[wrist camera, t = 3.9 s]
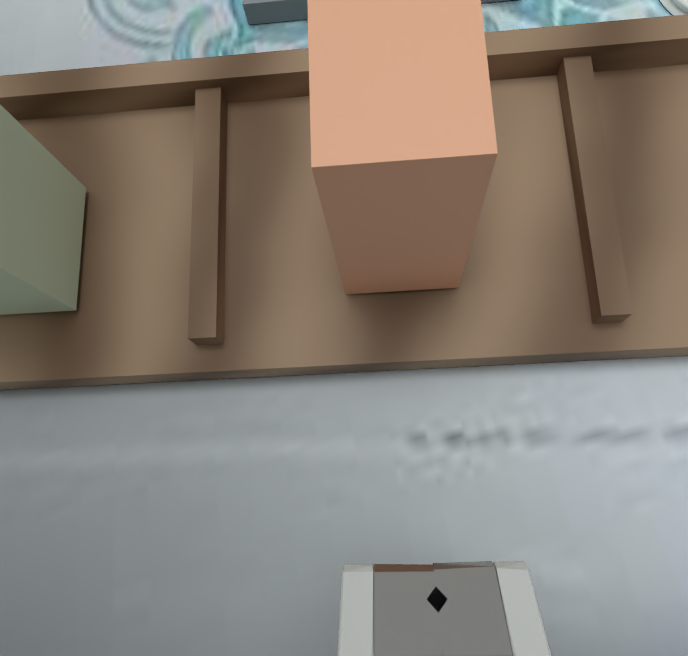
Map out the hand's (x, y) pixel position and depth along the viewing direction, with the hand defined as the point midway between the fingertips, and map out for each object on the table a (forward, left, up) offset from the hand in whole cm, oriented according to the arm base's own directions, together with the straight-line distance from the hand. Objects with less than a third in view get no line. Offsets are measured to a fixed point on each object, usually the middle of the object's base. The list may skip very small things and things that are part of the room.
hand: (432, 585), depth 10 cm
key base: (0, +12, -12) cm, 17 cm away
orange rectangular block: (0, +11, -10) cm, 15 cm away
